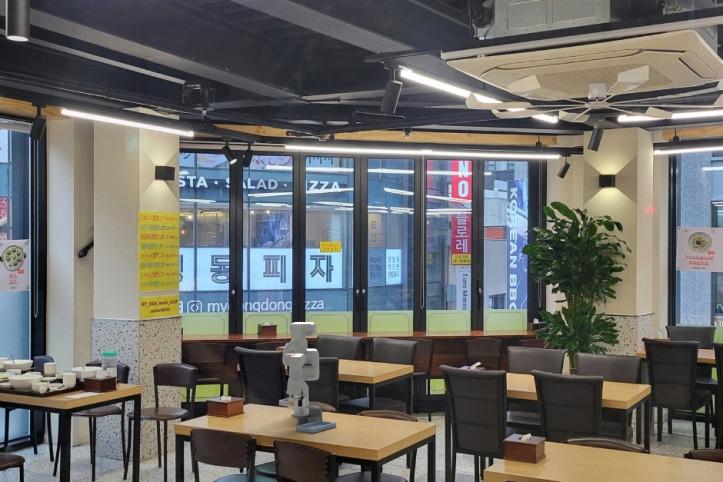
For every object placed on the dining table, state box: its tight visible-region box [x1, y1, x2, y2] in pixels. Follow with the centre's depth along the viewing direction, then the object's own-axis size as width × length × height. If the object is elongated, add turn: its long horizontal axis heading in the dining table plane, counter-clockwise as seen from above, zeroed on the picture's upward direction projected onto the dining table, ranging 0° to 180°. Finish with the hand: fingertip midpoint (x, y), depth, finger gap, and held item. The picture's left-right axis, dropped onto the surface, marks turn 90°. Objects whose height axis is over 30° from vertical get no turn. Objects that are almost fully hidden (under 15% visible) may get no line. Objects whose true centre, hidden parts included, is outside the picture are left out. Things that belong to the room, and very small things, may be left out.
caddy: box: [278, 396, 305, 410], centre depth 481 cm, size 16×6×6 cm, turn 143°
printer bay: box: [297, 404, 323, 426], centre depth 493 cm, size 12×10×10 cm
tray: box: [295, 420, 337, 434], centre depth 477 cm, size 21×13×2 cm, turn 143°
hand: (296, 405), depth 484 cm, fingers closed on caddy, 6 cm apart
